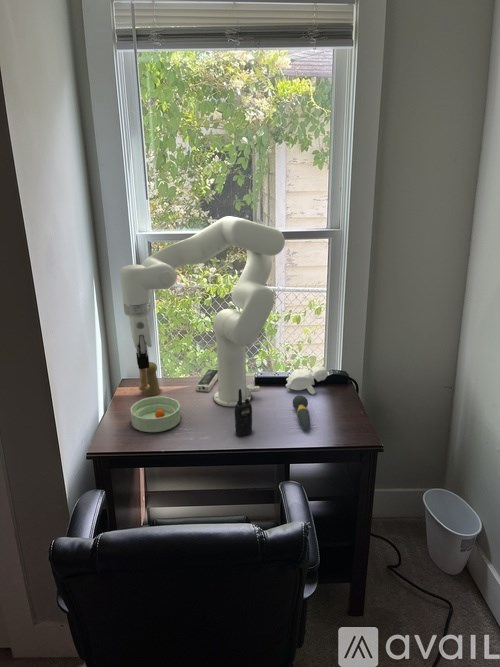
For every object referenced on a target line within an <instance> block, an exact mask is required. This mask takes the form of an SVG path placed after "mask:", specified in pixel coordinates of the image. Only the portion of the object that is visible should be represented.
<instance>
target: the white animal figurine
mask: <svg viewBox="0 0 500 667" xmlns="http://www.w3.org/2000/svg"><path fill="white" fill-rule="evenodd" d="M327 377H328V370H327V368H326V367H325V366H322V365H318V366H316V367H315V368H314V369H313V371H312V370H310V369H308V368H307V369H306V368H305V369H304V368H303V369H300V368H297V369H294V370H293V371H292V373H290V375H289V376H288V377H287V378H286V379H285V380H286V382H287V383H286V384H285V387H286V390H287V392H288V393H289V392H290V390H294V391H302V390H307V391H308V392H309V393H310V394H311V395H315V394H316V390H315V388H314V387H313V386H315V385H316V383H315V380H316V382H321V381H325V380H326V379H327Z"/></svg>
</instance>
